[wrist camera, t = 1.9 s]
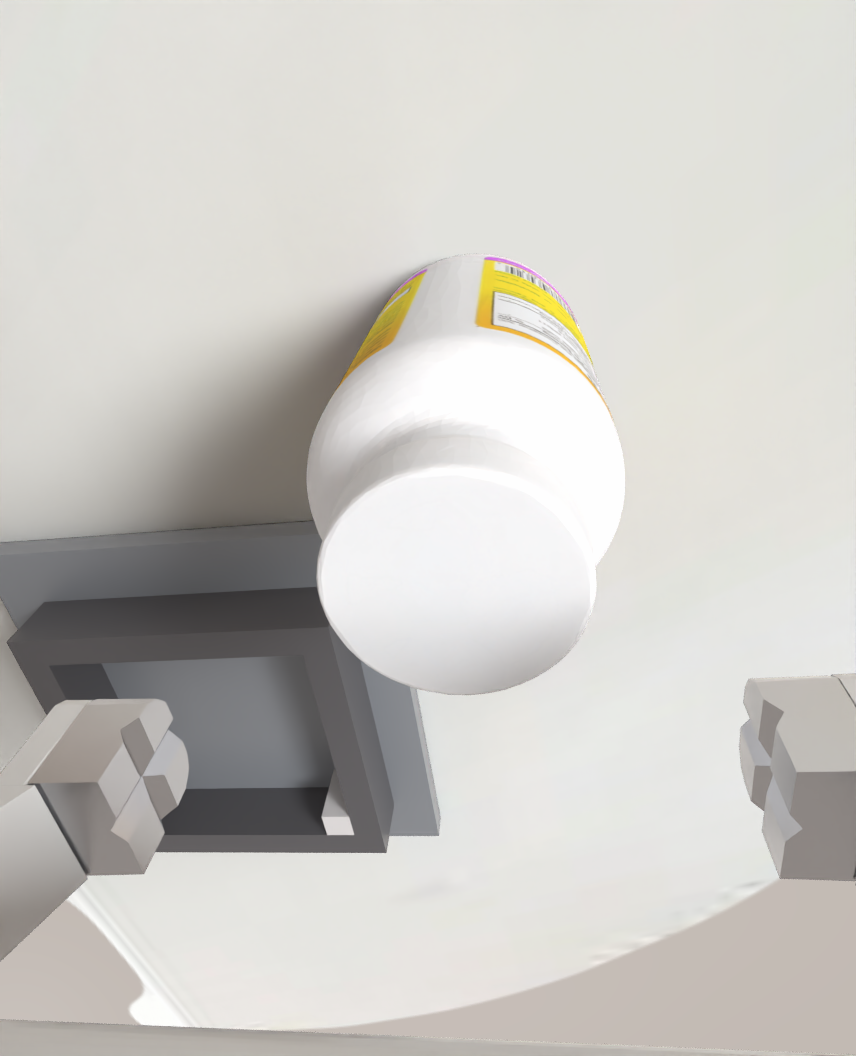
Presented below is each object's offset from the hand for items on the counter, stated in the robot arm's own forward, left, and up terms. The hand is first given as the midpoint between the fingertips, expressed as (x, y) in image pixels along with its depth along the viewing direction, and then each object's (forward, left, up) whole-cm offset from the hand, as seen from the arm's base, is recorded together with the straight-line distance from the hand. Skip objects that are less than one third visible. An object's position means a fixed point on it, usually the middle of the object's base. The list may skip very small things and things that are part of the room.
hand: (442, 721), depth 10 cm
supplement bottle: (-1, 0, -15) cm, 15 cm away
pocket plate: (+13, -12, -15) cm, 24 cm away
